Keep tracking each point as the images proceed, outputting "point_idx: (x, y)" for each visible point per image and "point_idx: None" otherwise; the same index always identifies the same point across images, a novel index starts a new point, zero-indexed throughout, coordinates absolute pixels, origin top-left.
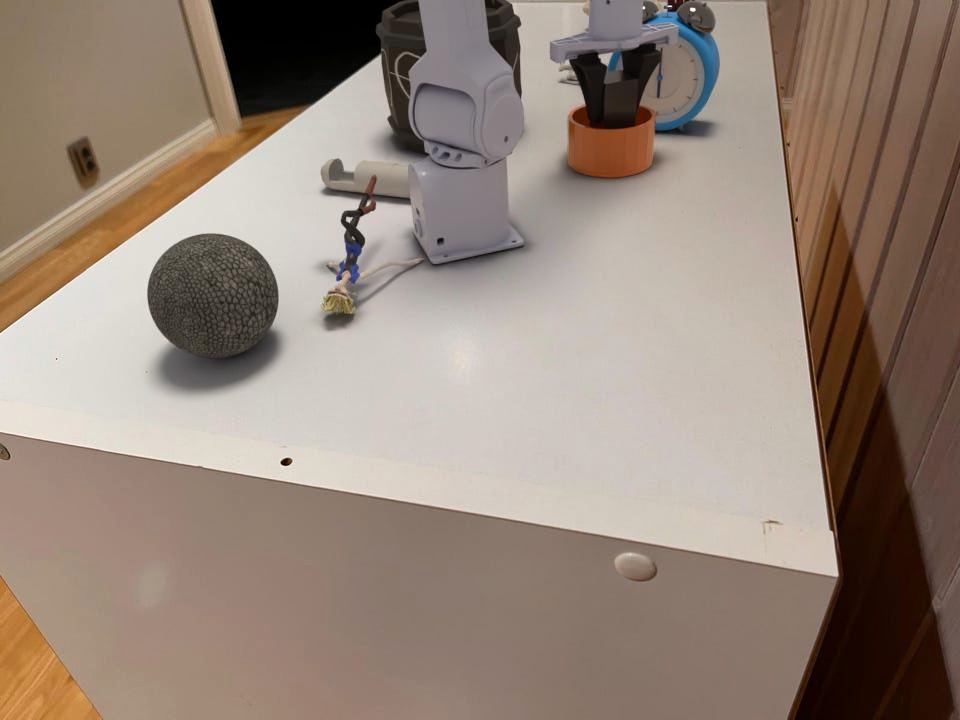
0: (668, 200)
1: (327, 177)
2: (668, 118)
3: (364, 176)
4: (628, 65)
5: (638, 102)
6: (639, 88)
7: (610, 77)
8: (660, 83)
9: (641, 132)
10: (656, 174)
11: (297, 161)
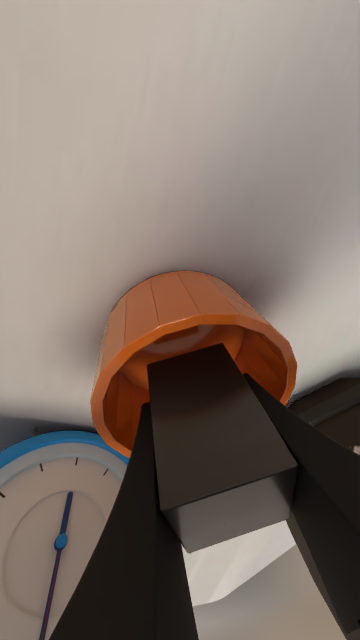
0: (99, 100)
1: None
2: (57, 449)
3: None
4: (179, 577)
5: (141, 431)
6: (145, 473)
7: (250, 509)
8: (60, 526)
9: (146, 323)
10: (106, 271)
11: None
